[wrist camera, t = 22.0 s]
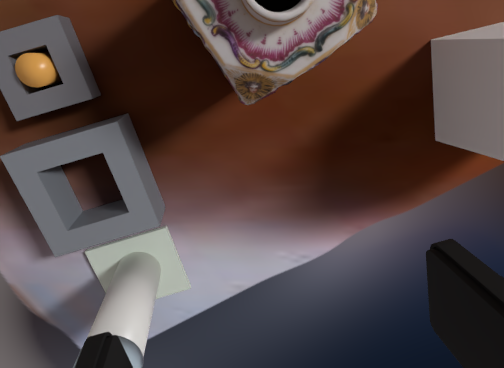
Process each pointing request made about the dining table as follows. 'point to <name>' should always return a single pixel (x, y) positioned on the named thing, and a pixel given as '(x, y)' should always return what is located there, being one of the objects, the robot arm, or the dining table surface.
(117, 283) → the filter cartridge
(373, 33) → the dining table surface
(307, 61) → the decorative jar
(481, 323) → the robot arm
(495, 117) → the milk
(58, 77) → the release plunger
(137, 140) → the grey square holder
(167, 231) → the mat
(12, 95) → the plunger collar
